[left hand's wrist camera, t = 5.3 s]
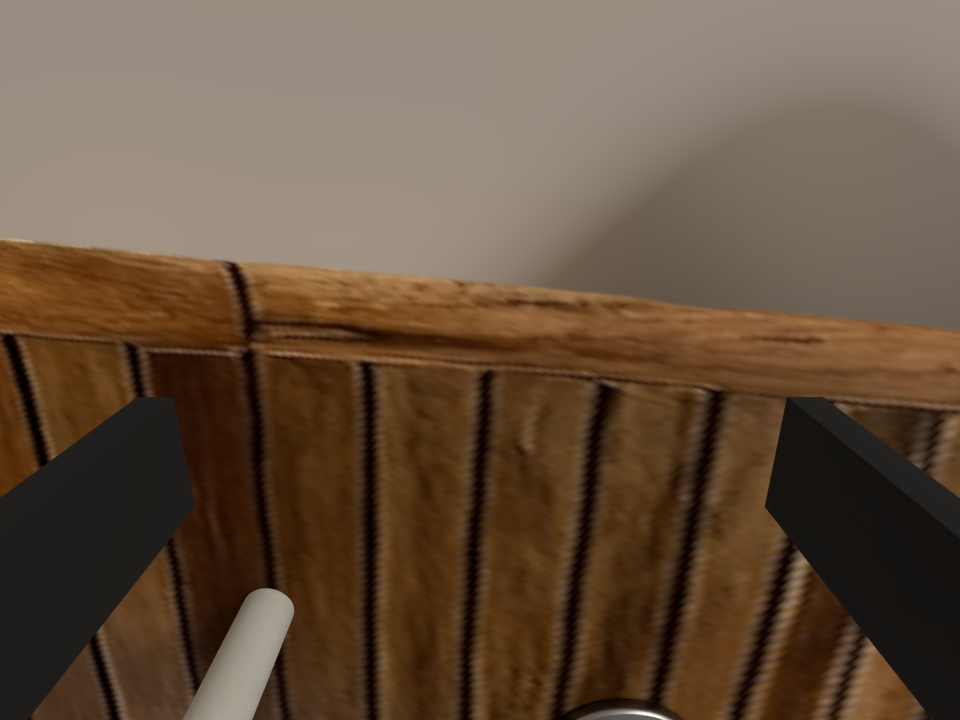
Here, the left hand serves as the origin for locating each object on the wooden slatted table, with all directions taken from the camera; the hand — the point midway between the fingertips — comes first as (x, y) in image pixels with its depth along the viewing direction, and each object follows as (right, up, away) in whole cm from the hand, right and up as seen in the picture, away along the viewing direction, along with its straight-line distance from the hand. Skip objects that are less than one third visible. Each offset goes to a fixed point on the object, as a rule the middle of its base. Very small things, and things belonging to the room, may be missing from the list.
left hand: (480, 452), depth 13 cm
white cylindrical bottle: (-18, -19, +37) cm, 46 cm away
